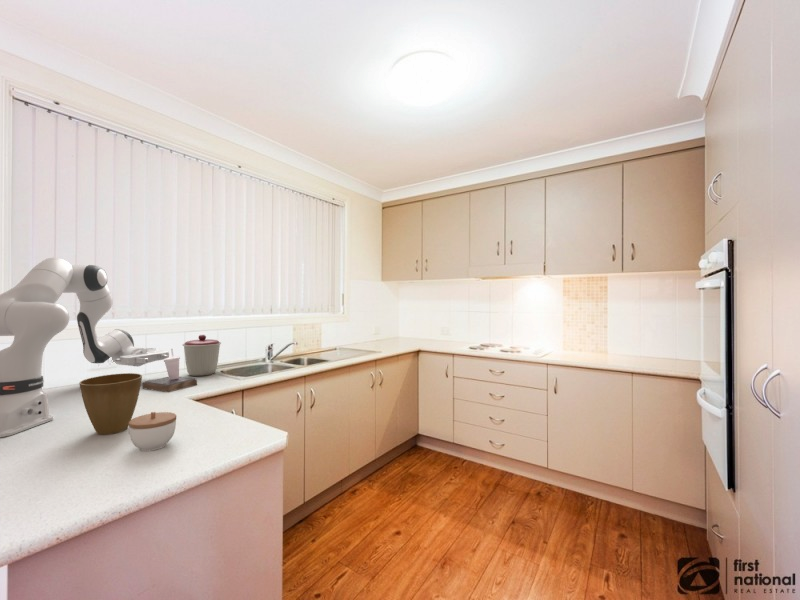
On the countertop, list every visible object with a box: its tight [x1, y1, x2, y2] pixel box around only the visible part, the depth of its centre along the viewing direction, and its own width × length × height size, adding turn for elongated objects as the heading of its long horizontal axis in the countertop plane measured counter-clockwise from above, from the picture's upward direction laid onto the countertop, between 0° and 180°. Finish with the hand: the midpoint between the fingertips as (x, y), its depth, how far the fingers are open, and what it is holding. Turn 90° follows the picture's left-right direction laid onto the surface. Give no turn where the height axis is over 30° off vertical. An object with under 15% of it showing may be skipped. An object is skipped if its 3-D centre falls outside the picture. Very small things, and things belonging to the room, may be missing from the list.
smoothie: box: [163, 348, 181, 380], centre depth 166 cm, size 6×6×14 cm
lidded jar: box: [128, 411, 177, 452], centre depth 98 cm, size 11×11×9 cm
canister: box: [182, 334, 222, 377], centre depth 192 cm, size 18×18×21 cm
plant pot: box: [78, 372, 143, 436], centre depth 110 cm, size 15×15×16 cm
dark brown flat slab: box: [142, 376, 198, 393], centre depth 165 cm, size 14×16×3 cm
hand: (156, 358), depth 168 cm, fingers open, 8 cm apart
